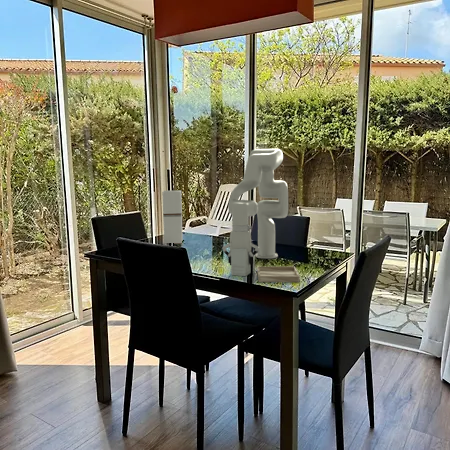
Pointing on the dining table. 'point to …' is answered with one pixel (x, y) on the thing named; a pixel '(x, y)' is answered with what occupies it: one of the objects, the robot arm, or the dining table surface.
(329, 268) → the dining table surface
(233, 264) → the supplement box
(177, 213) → the white tall box
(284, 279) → the tray
